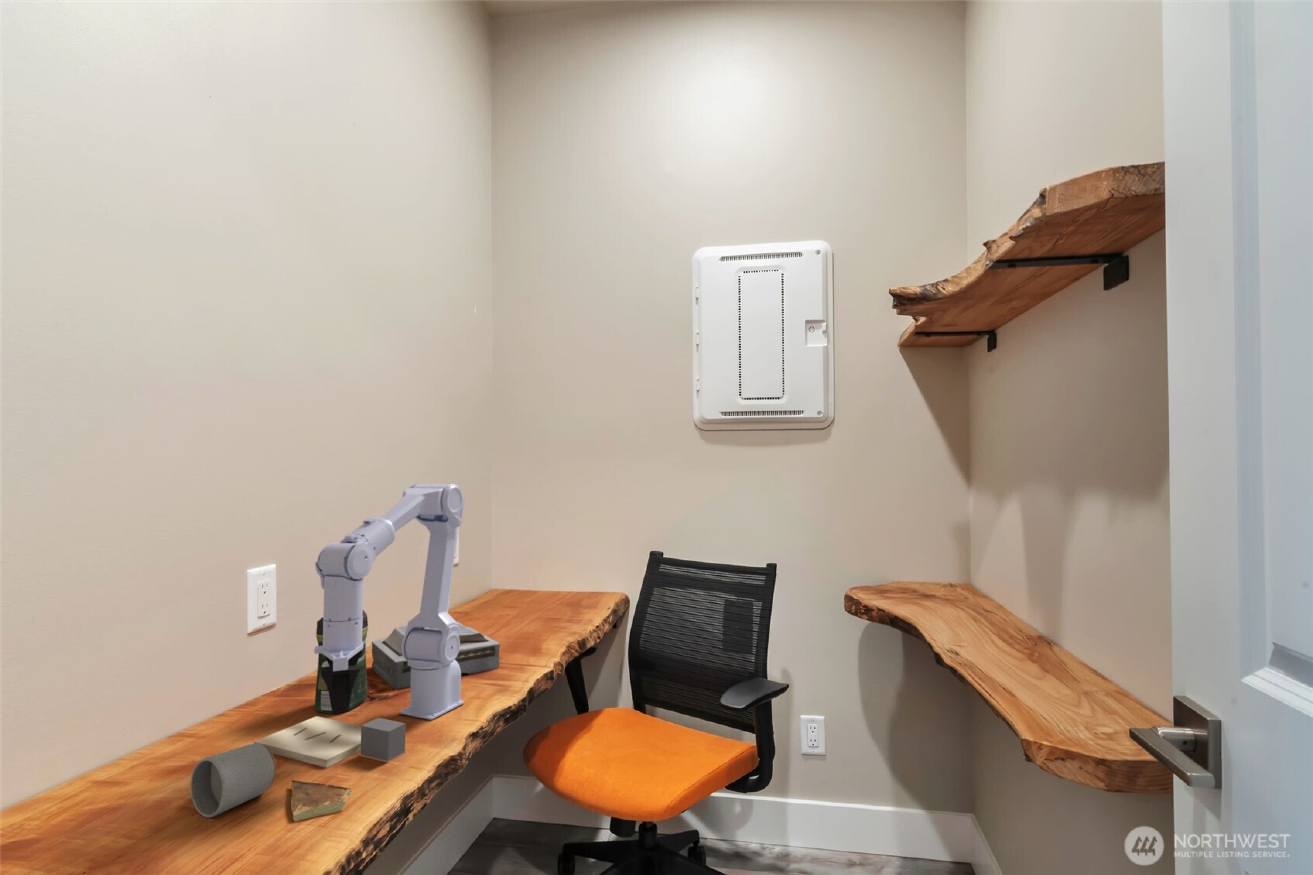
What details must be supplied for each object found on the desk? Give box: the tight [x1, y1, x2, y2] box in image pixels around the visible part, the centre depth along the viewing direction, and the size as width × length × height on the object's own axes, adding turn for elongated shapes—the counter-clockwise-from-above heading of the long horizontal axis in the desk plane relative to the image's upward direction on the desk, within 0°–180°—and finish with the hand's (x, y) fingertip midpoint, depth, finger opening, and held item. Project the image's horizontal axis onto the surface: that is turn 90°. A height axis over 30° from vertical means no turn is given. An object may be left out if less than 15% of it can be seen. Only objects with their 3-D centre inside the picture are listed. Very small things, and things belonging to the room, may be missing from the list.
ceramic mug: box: [189, 743, 277, 818], centre depth 91 cm, size 11×8×8 cm
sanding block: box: [360, 717, 406, 764], centre depth 106 cm, size 4×6×5 cm, turn 67°
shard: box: [290, 780, 353, 822], centre depth 92 cm, size 11×8×2 cm
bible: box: [371, 621, 501, 690], centre depth 152 cm, size 23×27×10 cm
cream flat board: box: [253, 715, 362, 768], centre depth 110 cm, size 12×17×1 cm
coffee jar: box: [314, 610, 369, 714], centre depth 128 cm, size 10×8×19 cm
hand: (341, 703), depth 103 cm, fingers open, 7 cm apart
